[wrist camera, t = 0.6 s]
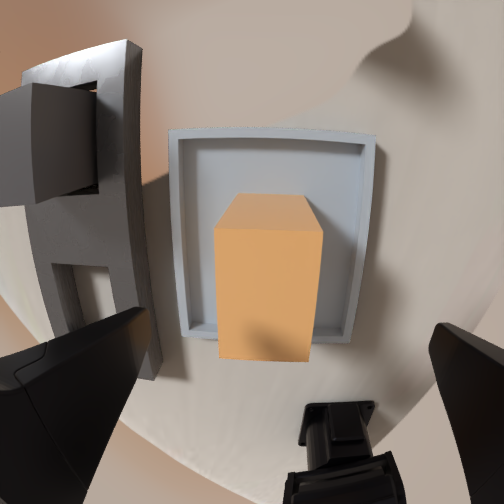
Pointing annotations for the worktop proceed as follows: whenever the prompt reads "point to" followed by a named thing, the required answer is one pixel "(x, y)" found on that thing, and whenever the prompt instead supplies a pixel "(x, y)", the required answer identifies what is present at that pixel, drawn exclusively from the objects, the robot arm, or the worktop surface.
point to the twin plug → (46, 143)
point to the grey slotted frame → (98, 197)
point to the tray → (270, 182)
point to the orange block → (267, 277)
